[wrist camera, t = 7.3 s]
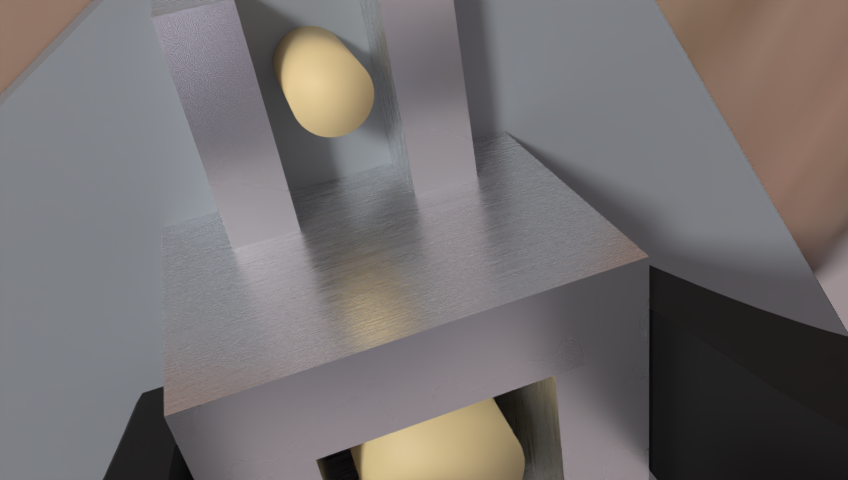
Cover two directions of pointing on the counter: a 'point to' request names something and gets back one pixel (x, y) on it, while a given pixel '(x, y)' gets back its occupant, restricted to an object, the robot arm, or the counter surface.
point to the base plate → (329, 159)
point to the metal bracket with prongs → (389, 277)
